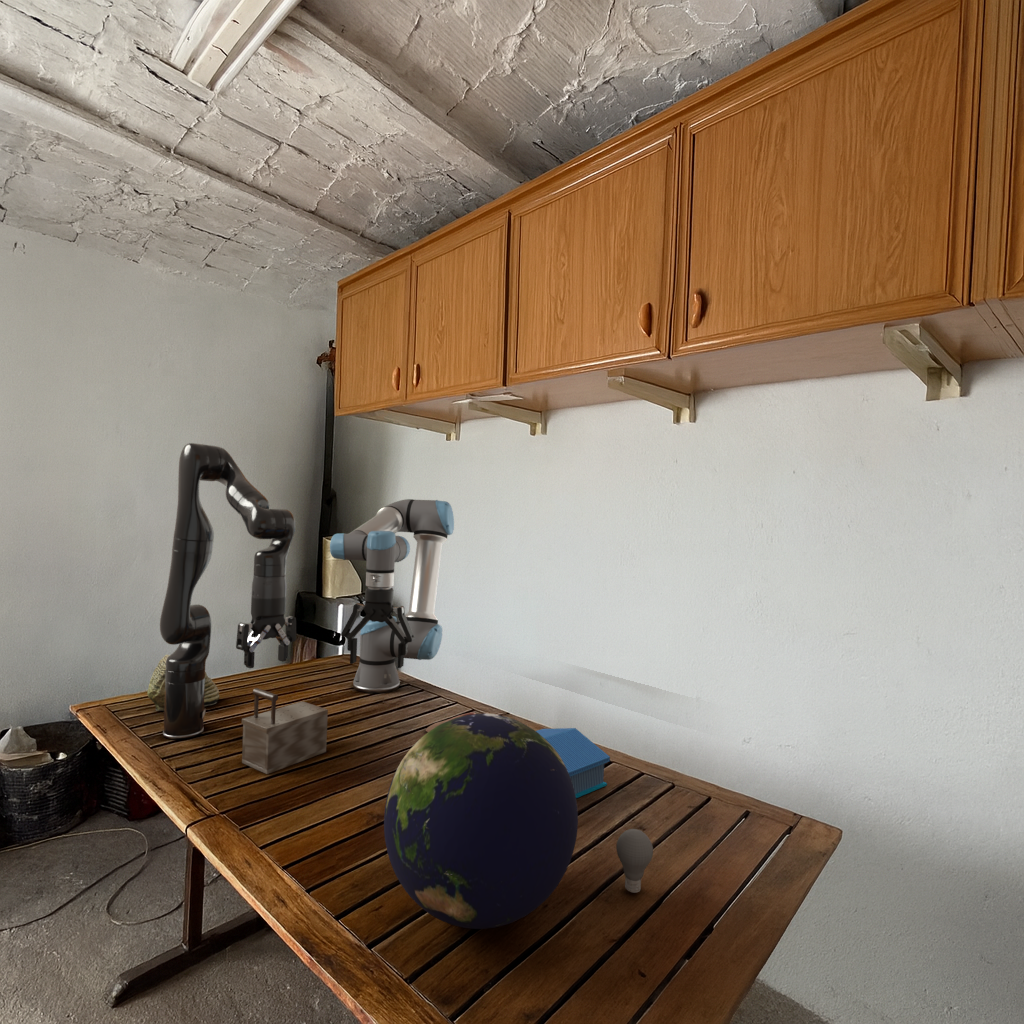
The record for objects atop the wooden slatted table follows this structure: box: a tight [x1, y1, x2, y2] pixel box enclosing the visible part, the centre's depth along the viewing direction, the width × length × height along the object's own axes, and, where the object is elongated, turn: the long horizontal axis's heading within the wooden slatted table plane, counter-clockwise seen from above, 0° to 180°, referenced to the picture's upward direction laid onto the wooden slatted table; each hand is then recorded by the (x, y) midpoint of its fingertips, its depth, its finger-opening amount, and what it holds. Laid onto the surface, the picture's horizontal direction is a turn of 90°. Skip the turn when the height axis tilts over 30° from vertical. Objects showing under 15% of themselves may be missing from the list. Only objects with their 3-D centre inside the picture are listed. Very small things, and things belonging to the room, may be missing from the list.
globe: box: [383, 712, 579, 930], centre depth 99 cm, size 30×30×30 cm
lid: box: [241, 687, 329, 733], centre depth 152 cm, size 17×10×8 cm, turn 146°
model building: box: [535, 727, 611, 799], centre depth 138 cm, size 39×24×10 cm, turn 132°
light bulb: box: [615, 828, 654, 894], centre depth 106 cm, size 6×6×10 cm
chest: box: [241, 713, 329, 775], centre depth 153 cm, size 17×10×9 cm, turn 146°
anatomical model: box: [425, 711, 477, 733], centre depth 175 cm, size 13×4×12 cm
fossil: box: [147, 654, 221, 712], centre depth 185 cm, size 9×18×15 cm, turn 132°
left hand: (266, 664), depth 147 cm, fingers open, 8 cm apart
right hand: (376, 664), depth 173 cm, fingers open, 13 cm apart
